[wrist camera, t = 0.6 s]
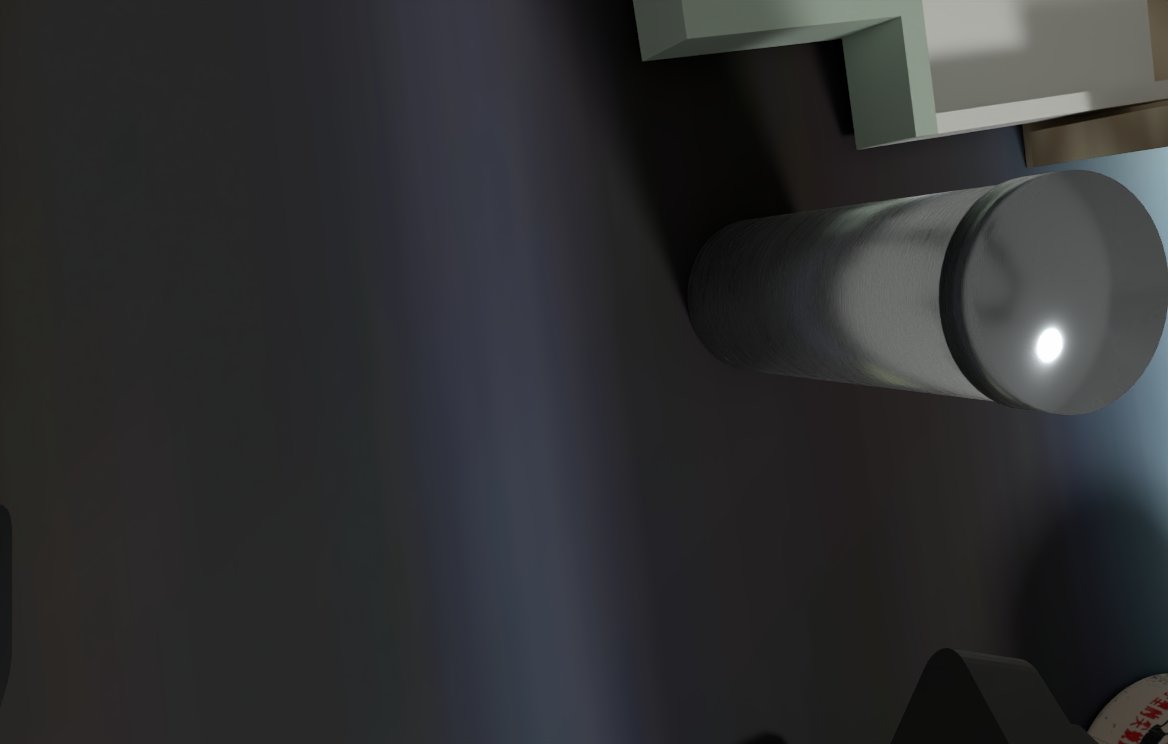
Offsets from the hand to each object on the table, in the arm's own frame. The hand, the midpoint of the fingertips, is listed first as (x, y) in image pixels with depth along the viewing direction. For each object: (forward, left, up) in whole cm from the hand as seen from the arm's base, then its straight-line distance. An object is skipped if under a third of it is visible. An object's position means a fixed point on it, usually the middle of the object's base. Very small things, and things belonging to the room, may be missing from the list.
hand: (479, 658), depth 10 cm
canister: (-1, +15, -22) cm, 26 cm away
